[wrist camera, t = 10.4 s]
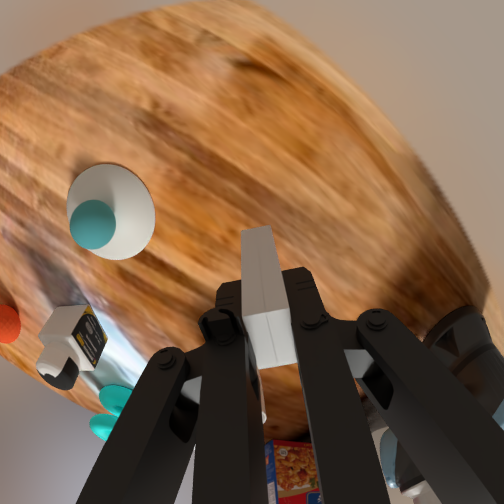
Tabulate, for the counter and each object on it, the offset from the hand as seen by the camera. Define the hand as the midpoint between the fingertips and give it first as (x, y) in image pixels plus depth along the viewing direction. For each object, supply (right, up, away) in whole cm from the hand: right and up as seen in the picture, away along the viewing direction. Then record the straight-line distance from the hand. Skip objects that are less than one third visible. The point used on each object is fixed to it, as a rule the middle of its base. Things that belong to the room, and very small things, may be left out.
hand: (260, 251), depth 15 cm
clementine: (-44, -11, +23) cm, 51 cm away
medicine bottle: (-27, -11, +24) cm, 37 cm away
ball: (-18, +3, +13) cm, 22 cm away
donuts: (-26, -29, +33) cm, 51 cm away
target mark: (-17, +4, +16) cm, 24 cm away
